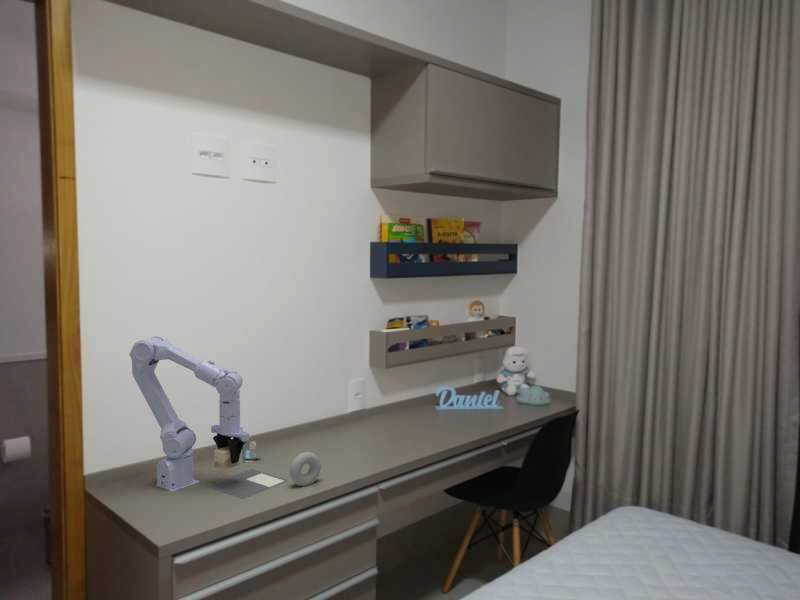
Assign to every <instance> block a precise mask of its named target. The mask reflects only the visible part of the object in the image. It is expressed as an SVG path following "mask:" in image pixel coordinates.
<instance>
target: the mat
mask: <svg viewBox="0 0 800 600" xmlns="http://www.w3.org/2000/svg"><path fill="white" fill-rule="evenodd" d="M288 481H289V479H284V478H281V477H279V476H275V475H272V474H269V473H266V472H264V471H263V472H262V471H259V470H256V469H254V468H251V469H248V470H245V471H243V472H240V473H238V474H234V475H232V476H229V477H226V478H222V479H220V480H218V481H215V482H211V483H209V484H207V485H205V486H206V487H209V488H211V489H214V490H216V491H220V492H221V493H222V492H223V493H225V494H227V495H230V496H233V497H236V498H239V499H241V500H245V499H248V498H249V497H252V496H255V495H257V494H259V493H261V492H264V491H267V490H269V489H271V488H274V487H276V486H278V485H280V484H283V483H286V482H288Z"/></svg>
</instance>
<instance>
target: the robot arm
mask: <svg viewBox="0 0 800 600" xmlns="http://www.w3.org/2000/svg"><path fill="white" fill-rule="evenodd" d="M129 356H130V359H131V374H132V377H133V379H134V380H135V382H136V384H137V386H138V388H139V390H140V392H141V394H142V395H143V397H144V399H145V402H146V403H147V405H148V407H149V408H150V411H151V412H152V414H153V416H154V418H155V420H156V421H157V424H158V425H159V427H160V434H159V435H160V436H159V439H160V441H161V443H162V451H163V453H164V454H165V455H166V456H165V457H164V458H162V459H161V460H159V461H158V462H157V466H156V470H157V471H156V475H157V476H156V479H157V483H156V485H155V486H156V487H159V488H161V489H163V490H166V491H169V492H174V491H178V490H180V489H183V488H186V487H188V486H192V485H195V484H197V483H200V480H197V479H194V449H193V446H194V445H195V443H196V441H197V436H196V433H195V431H194V430H193V429H191V428H190V427H189V426H188V424H187V423H186V422H185V421H183V420H181V419H180V418H179V417H178V414H177V413H176V411H175V409H174V407H173V405H172V403H171V401H170V400H169V398H168V396H167V393H166V392H165V390H164V388H163V386H162V385H161V382H160V380H159V379H158V377H157V376H156V374H155V370H156V369H157V365H158V363H159V361H163V360H169V361H171V362H173V363H175V364H177V365H180V366H182V367H184V368H186V369H189V370H190V371H192V372H193V374H194V376H195V378H196V379H198V380H200V381H202V382H204V383H206V384H208V385H209V386H212V387H213V388H216V391H217V393H218V394H219V400H218V401H219V402H218V403H219V409H218V410H219V413H218V414H219V415H218V416H219V418H218V419H219V424H213V425H211V426H210V427H211V428H210V432H211V434H215V433H216V435H214V436H213V437H212V440H213V442H215V444H216V447H217V449H220V448H223V447H226V446H229V449H230V457H231V463H233V464H234V463H237V462H239V458H240V454H241V451H242V448H243V446H245V444H246V442H247V441H250V433H249V432H246V431H245V430H243V427H242V426H241V398H240V397H241V395H240V394H241V390H240V389H241V387H242V386H243V378H242V376H241V375H240V374H239V373H238V372H237V371H234V370H232V371H229V369H228V368H222V367H221V366H219V365H217V364H215V361H214V360H212V359H210V360H208V359H204V360H199V359H197V358H195V356H193V355H190V354H189V353H188V352H187V351H184V350H183V349H181V348H180V347H177V346H176V345H174V344H173V343H172V342H171V341H169V340H168V339H164V338H163V337H161V336H153V337H150V338H146V339H143V340H141V339H140V340H138V341H136V342H135V343H134V344H133V346H132V348H131V349H130V352H129Z"/></svg>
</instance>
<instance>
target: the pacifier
mask: <svg viewBox="0 0 800 600" xmlns="http://www.w3.org/2000/svg"><path fill="white" fill-rule="evenodd" d="M248 449H249V450H248ZM248 449H245V453H246V462H247V463H249V462H250V463H252V462H255V461H256V460H257V459H259V458H260V457H262V456H263V455H262V454H261V455H257V454H256V452H255V451H256V449H257V442H255V441H254V440H252V441H250V443H249V447H248Z"/></svg>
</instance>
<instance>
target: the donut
mask: <svg viewBox="0 0 800 600" xmlns="http://www.w3.org/2000/svg"><path fill="white" fill-rule="evenodd" d="M307 464H308V466H309V467H308V471H307V472H306V473H305V474H303V473H302V469H303V467H304V466H305V465H307ZM321 469H322V467H321V461H320V459H319V457H318V455H316V454H315V453H314V452H310V451H303V452H301V453H298V455H296V456H295V457H294V458H293V460H292V461H291V464H290V466H289V477H290V480H291V481H292V483H294V484H295V485H296V486H298V487H299V486H300V487H305V486H309V485H312V484H313V483H314V482H316V480H317V479H318V477H319V476H320V473H321Z"/></svg>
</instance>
